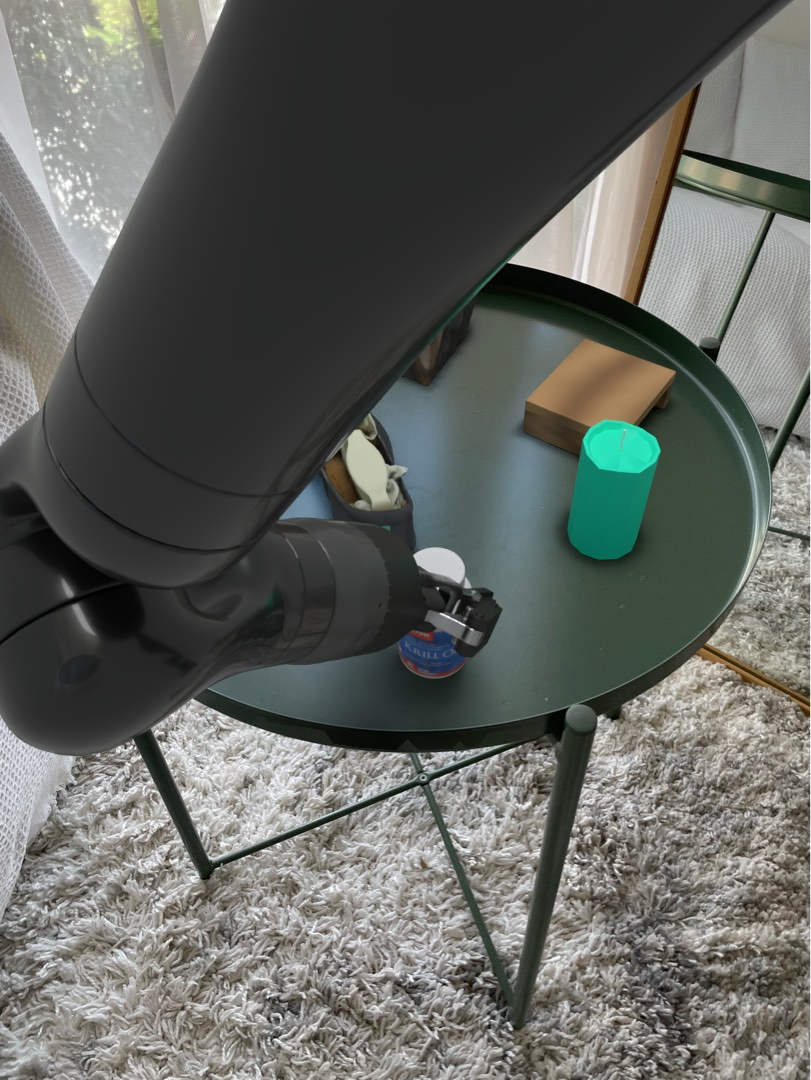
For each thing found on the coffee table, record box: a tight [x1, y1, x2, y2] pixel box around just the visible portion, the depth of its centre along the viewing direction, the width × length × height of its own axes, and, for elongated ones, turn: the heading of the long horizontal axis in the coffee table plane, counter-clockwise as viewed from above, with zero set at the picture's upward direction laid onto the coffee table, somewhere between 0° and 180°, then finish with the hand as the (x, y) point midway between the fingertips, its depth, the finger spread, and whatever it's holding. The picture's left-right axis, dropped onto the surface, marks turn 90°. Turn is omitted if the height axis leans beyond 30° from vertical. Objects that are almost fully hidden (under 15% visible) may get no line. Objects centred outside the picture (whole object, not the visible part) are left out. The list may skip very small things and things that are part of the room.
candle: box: [566, 420, 661, 561], centre depth 68 cm, size 6×6×12 cm
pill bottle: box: [397, 546, 473, 680], centre depth 59 cm, size 6×5×10 cm
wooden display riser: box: [522, 338, 677, 457], centre depth 81 cm, size 10×12×4 cm
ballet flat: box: [316, 411, 417, 551], centre depth 74 cm, size 8×24×8 cm, turn 18°
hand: (448, 584), depth 59 cm, fingers closed on pill bottle, 5 cm apart
